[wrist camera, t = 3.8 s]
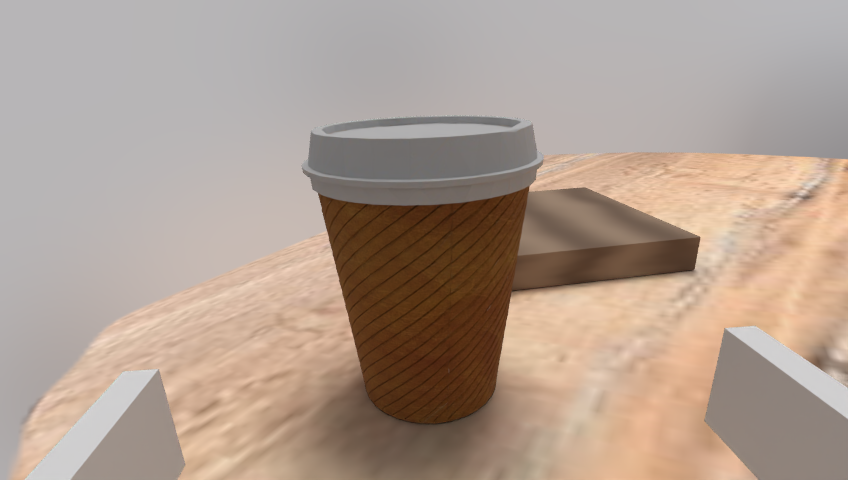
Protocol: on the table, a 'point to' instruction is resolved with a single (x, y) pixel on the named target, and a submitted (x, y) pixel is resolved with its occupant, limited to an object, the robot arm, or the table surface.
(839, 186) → the table surface
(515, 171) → the disposable coffee cup
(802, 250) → the table surface
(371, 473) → the table surface
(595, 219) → the walnut board
